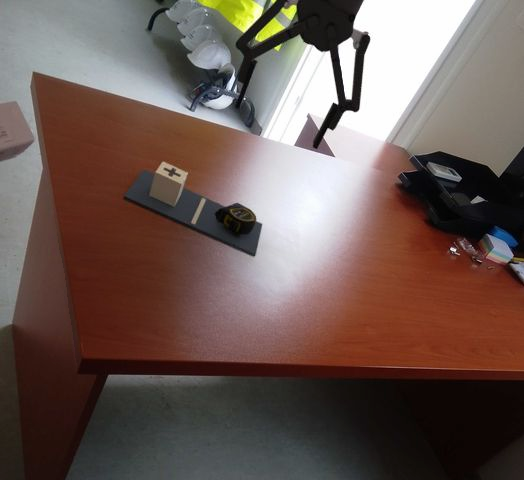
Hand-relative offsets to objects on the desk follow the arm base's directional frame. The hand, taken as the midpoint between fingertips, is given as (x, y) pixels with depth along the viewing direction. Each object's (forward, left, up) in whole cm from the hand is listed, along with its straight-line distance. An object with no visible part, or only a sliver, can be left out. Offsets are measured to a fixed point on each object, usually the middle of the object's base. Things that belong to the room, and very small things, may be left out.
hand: (277, 126), depth 73 cm
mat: (-7, +4, -23) cm, 24 cm away
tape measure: (0, +4, -22) cm, 23 cm away
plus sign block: (-14, +4, -22) cm, 26 cm away
